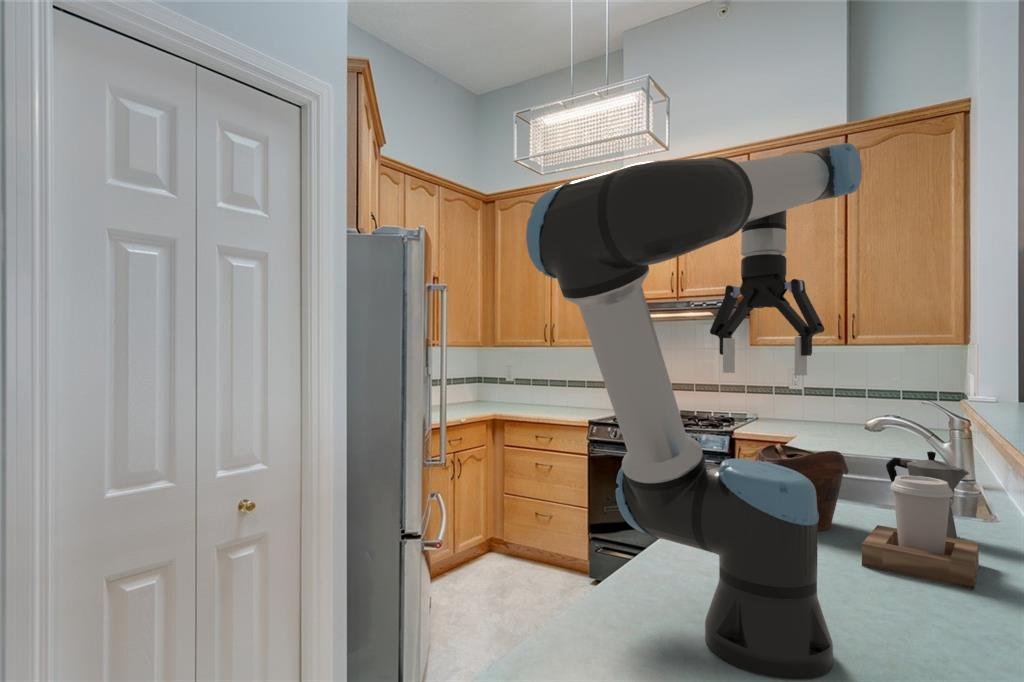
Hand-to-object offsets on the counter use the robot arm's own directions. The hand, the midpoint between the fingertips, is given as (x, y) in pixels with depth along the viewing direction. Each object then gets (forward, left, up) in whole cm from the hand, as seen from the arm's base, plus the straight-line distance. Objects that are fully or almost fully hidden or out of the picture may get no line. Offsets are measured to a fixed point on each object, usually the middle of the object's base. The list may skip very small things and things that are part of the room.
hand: (762, 374), depth 104 cm
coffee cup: (+10, -29, -34) cm, 46 cm away
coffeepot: (+32, -39, -35) cm, 61 cm away
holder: (+10, -29, -35) cm, 46 cm away
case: (+34, -14, -35) cm, 51 cm away
